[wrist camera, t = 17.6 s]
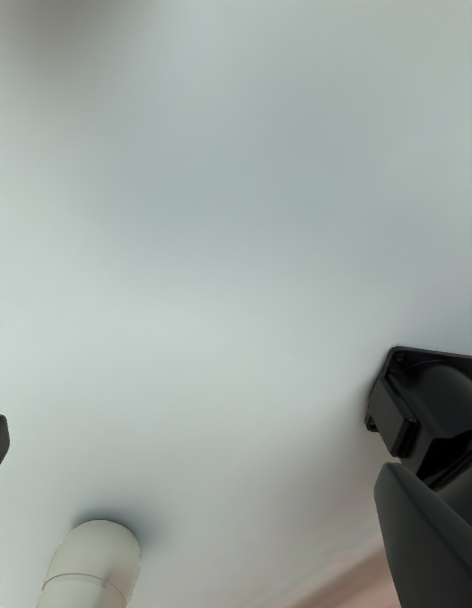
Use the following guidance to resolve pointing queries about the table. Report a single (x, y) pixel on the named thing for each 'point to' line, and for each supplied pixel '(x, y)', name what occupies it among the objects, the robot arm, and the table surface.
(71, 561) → the plastic bottle
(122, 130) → the table surface
